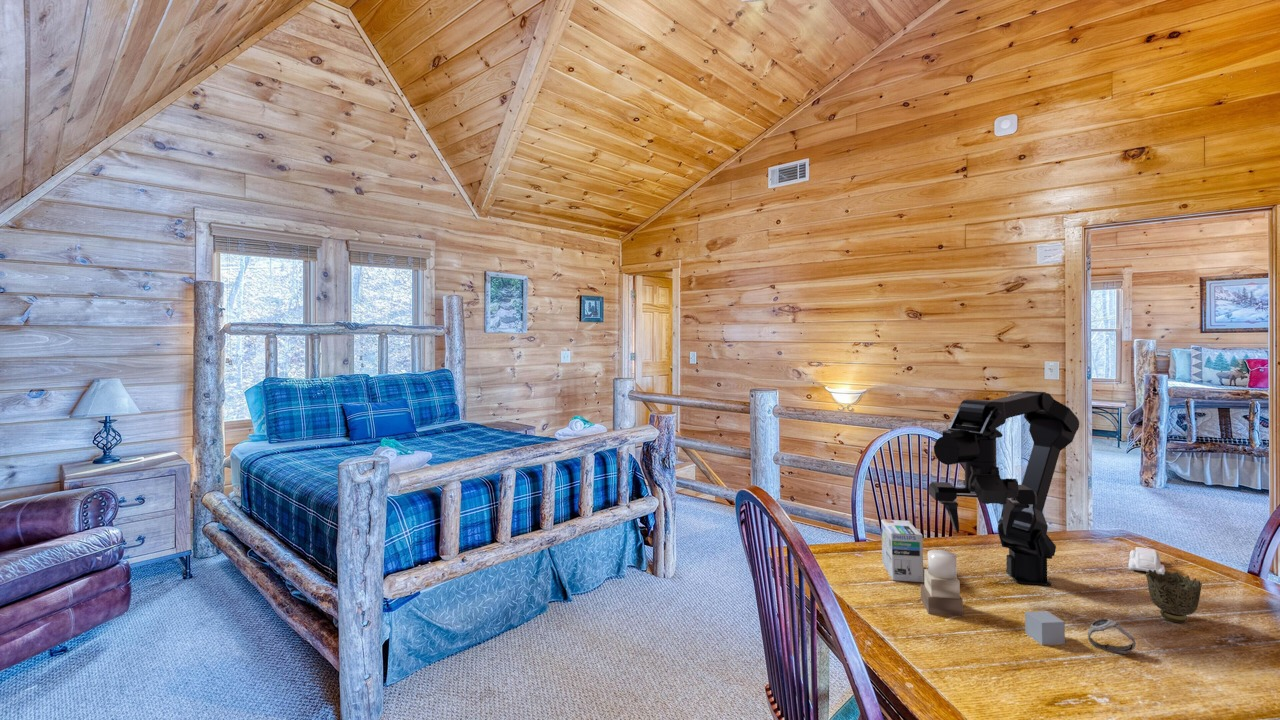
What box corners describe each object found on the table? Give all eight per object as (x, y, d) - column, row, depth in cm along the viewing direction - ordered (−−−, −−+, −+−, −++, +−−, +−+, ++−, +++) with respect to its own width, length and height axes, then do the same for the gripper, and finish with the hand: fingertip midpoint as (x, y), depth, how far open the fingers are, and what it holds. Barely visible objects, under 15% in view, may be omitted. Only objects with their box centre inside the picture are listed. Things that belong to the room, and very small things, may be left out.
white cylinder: (952, 570, 111) (952, 550, 111) (959, 580, 106) (959, 559, 106) (925, 568, 112) (924, 548, 112) (931, 578, 107) (931, 557, 107)
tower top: (951, 587, 110) (951, 570, 110) (959, 598, 106) (959, 581, 106) (924, 586, 112) (924, 569, 112) (931, 596, 107) (931, 579, 107)
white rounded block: (1166, 580, 120) (1166, 559, 120) (1128, 573, 124) (1128, 552, 124) (1162, 563, 129) (1162, 543, 129) (1126, 557, 133) (1126, 538, 133)
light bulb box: (924, 583, 121) (923, 534, 120) (892, 581, 122) (891, 533, 122) (910, 564, 131) (910, 519, 131) (880, 562, 132) (880, 518, 132)
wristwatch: (1087, 640, 96) (1087, 611, 96) (1135, 651, 92) (1134, 622, 92) (1087, 648, 93) (1087, 619, 93) (1136, 661, 89) (1136, 631, 89)
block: (1047, 632, 99) (1046, 611, 99) (1064, 644, 95) (1064, 622, 95) (1025, 633, 99) (1025, 611, 99) (1042, 645, 95) (1041, 622, 95)
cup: (1186, 613, 105) (1186, 571, 104) (1212, 632, 98) (1212, 587, 97) (1138, 607, 107) (1137, 567, 107) (1159, 626, 100) (1159, 582, 100)
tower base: (953, 603, 111) (952, 586, 111) (962, 617, 105) (962, 599, 105) (920, 600, 113) (920, 584, 113) (928, 614, 107) (928, 597, 107)
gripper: (942, 466, 109) (943, 544, 110) (1050, 469, 105) (1051, 550, 105) (927, 455, 120) (928, 526, 120) (1024, 457, 116) (1025, 531, 116)
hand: (981, 533), depth 115 cm, fingers open, 9 cm apart
